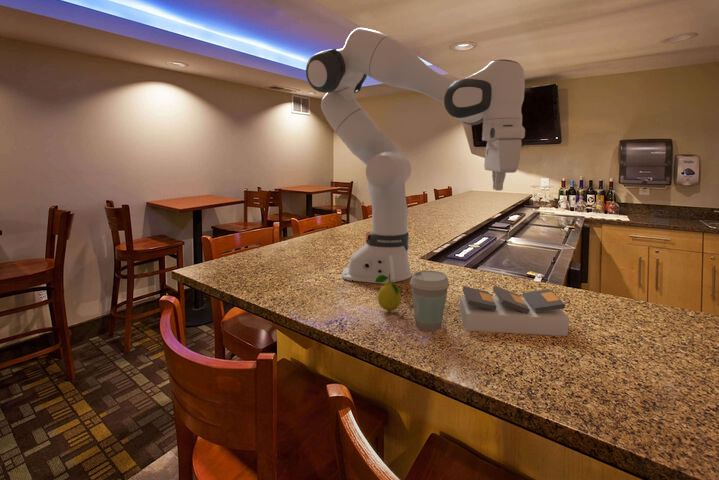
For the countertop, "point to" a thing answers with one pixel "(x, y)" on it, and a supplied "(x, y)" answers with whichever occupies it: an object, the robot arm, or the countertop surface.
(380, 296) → the lemon
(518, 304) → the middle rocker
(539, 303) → the right rocker
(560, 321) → the rocker switch box
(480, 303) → the left rocker
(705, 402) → the countertop surface
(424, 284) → the coffee cup
